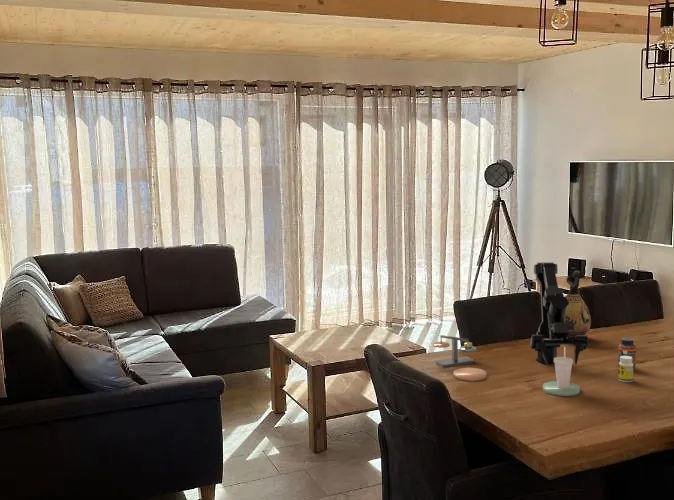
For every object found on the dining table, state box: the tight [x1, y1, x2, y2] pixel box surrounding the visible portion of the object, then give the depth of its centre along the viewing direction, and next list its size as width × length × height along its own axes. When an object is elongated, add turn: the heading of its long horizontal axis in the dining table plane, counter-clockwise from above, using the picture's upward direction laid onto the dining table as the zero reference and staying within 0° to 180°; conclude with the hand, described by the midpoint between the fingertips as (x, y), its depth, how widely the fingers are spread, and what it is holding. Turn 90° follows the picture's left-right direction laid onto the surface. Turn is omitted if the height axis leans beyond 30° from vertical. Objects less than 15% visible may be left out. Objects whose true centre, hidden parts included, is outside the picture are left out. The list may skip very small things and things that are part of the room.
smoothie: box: [553, 346, 574, 389], centre depth 224 cm, size 6×6×14 cm
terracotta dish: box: [453, 367, 488, 382], centre depth 243 cm, size 12×12×1 cm
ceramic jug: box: [564, 270, 592, 339], centre depth 286 cm, size 17×15×30 cm
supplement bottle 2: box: [617, 356, 634, 383], centre depth 232 cm, size 5×5×8 cm
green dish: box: [542, 380, 581, 397], centre depth 225 cm, size 12×12×1 cm
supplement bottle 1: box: [617, 337, 637, 371], centre depth 245 cm, size 6×6×11 cm
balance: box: [432, 334, 477, 368], centre depth 259 cm, size 18×6×12 cm, turn 110°
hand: (561, 364), depth 223 cm, fingers open, 9 cm apart
